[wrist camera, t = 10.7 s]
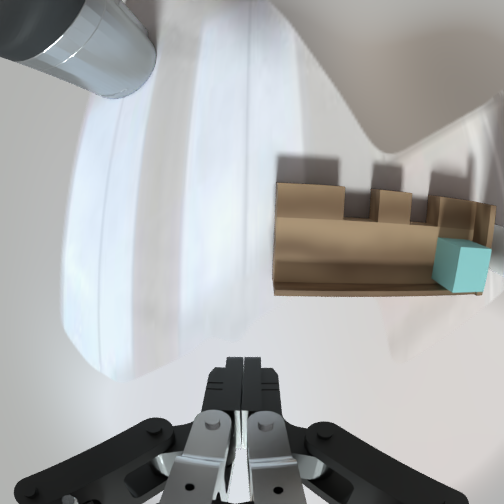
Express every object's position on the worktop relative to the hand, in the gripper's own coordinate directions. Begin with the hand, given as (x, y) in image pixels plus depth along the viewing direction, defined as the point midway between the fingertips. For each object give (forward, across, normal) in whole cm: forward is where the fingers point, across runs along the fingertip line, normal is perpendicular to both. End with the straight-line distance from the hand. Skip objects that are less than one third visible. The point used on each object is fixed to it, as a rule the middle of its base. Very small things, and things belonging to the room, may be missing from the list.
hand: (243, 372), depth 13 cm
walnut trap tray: (+23, -16, -1) cm, 28 cm away
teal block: (+20, -24, 0) cm, 31 cm away
